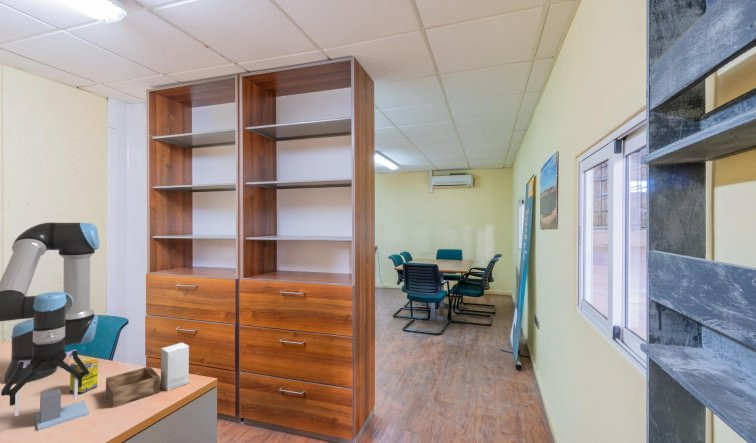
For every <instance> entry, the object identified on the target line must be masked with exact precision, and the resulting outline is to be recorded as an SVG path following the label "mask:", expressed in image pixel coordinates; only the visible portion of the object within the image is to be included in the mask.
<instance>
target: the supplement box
mask: <svg viewBox="0 0 756 443" xmlns="http://www.w3.org/2000/svg"><path fill="white" fill-rule="evenodd" d="M80 360H81V359H80ZM81 361H82V362H83V364H84V365H85V366H86V368H87V369H88V371H89V374H88V375H85V376H83V378H82V386H81V387H79V388H78V395H82V394H84V393H87V392H89V391H91V390H93V389H96V388H97V387H98V375H99V373H98V372H99V359H97V358H90V357H86V358H83V359H82V360H81ZM70 366H71V367H73V368H74V369H76V370H77V371H79V372H80V373H81V372H83V371H82V370H81V368H80V367H79V366H78V364H77V363H76V362H75V361H74V362H73V363H70ZM74 378H75V376H74V375H72V374H71V373H70V376H69V393H70V394H71V393H72V394H74Z"/></svg>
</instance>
